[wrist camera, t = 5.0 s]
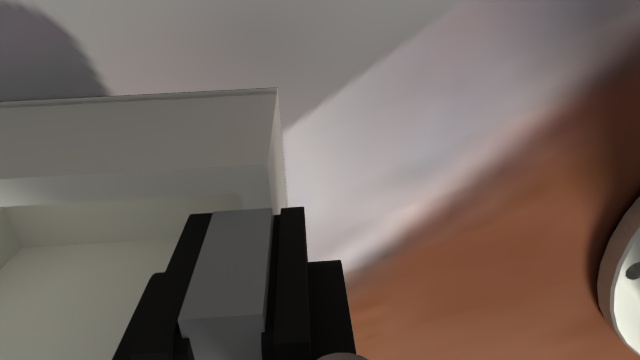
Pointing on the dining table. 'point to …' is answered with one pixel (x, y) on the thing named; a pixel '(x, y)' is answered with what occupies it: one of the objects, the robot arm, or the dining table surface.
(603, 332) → the dining table surface
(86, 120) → the box
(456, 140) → the dining table surface
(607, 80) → the dining table surface
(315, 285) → the robot arm
